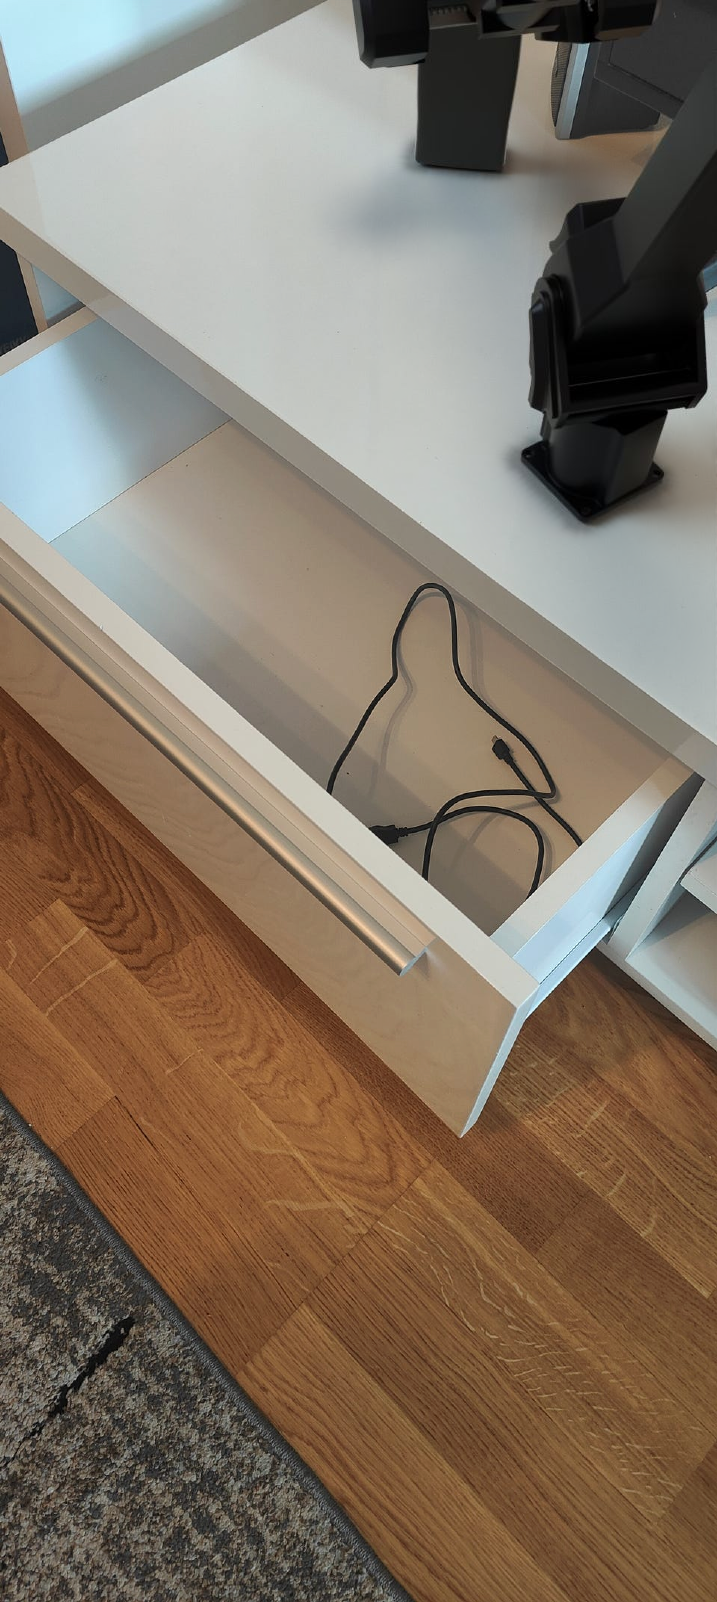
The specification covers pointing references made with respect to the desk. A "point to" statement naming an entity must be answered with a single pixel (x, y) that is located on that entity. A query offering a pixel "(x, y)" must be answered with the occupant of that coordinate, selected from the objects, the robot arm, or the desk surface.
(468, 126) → the battery charger
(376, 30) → the robot arm
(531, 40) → the desk surface
